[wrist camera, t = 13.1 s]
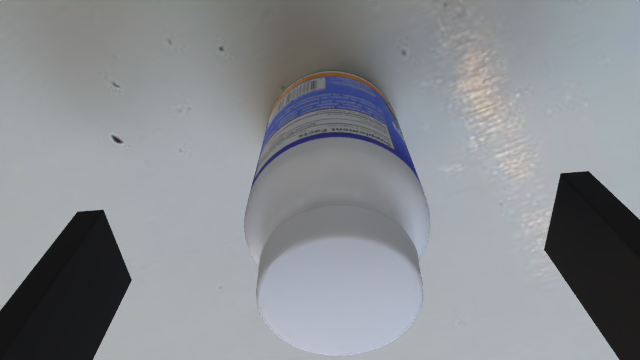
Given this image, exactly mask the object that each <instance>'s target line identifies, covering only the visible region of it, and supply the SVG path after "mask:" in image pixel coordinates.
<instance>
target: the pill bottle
mask: <svg viewBox="0 0 640 360" xmlns="http://www.w3.org/2000/svg"><path fill="white" fill-rule="evenodd" d="M244 229H245V237H246V242H247V245H248V248H249V251H250V253H251V255H252V257H253V259H254V261H255V263H256V264H257V266H258V267H259V272H258V280H257V289H256V297H257V305H258V309H259V311H260V314H261V316H262V319H263V320H264V322H265V323H266V325H267V326H268V327H269V328H270V329H271V330H272V331H273V333H275V334H276V335H277V336H278V337H279V338H281V339H282V340H283V341H285V342H287V343H289V344H290V345H292V346H294V347H296V348H299V349H302V350H305V351H308V352H311V353H316V354H322V355H336V356H341V355H353V354H359V353H364V352H368V351H372V350H375V349H377V348H380V347H382V346H384V345H386V344H388V343H390V342H392V341H393V340H395V339H396V338H398V337H399V336H400V335H402V334H403V333H404V332H405V331H406V330H407V329H408V328H409V327H410V326H411V324H413V322H414V320H415V319H416V317H417V316H418V314H419V311H420V309H421V306H422V302H423V283H422V278H421V273H420V267H419V260H420V258H421V256H422V254H423V253H424V250H425V247H426V245H427V241H428V237H429V230H430V214H429V208H428V204H427V201H426V197H425V195H424V191H423V188H422V186H421V183H420V181H419V178H418V176H417V173H416V170H415V168H414V165H413V162H412V160H411V157H410V154H409V152H408V149H407V146H406V143H405V141H404V138H403V135H402V132H401V129H400V127H399V124H398V121H397V118H396V116H395V113H394V111H393V109H392V107H391V105H390V103H389V101H388V100H387V99H386V97H385V96H384V95H383V93H382V92H381V91H380V90H379V89H378V88H377V87H375V86H374V85H373V84H371V83H370V82H368V81H367V80H365V79H363V78H361V77H358V76H356V75H353V74H350V73H346V72H340V71H324V72H317V73H314V74H310V75H308V76H305V77H303V78H301V79H299V80H298V81H296V82H294V83H293V84H292V85H290V86H289V87H288V88H287V89H286V90H285V91H284V92H283V93H282V94H281V96H280V97H279V98H278V100H277V101H276V103H275V105H274V107H273V109H272V111H271V114H270V117H269V120H268V124H267V128H266V133H265V137H264V141H263V145H262V149H261V153H260V157H259V160H258V164H257V168H256V172H255V176H254V180H253V183H252V187H251V191H250V195H249V198H248V202H247V207H246V212H245V219H244Z"/></svg>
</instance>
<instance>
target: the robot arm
mask: <svg viewBox="0 0 640 360" xmlns="http://www.w3.org/2000/svg"><path fill="white" fill-rule="evenodd" d="M544 250H545V251H546V253H547V254H548V256H549V257H550V259H551V260H552V262H553V263H554V264H555V266H556V267H557V269H558V270H559V272H560V273H561V275H562V276H563V278H564V279H565V281H566V282H567V284H568V285H569V286H570V288H571V289H572V291H573V292H574V294H575V295H576V297H577V298H578V300H579V301H580V303H581V304H582V305H583V307H584V308H585V310H586V311H587V313H588V314H589V316H590V317H591V319H592V320H593V322H594V323H595V324H596V326H597V327H598V329H599V330H600V332H601V333H602V335H603V336H604V338H605V339H606V341H607V342H608V344H609V345H610V346H611V348H612V349H613V351H614V352H615V354H616V355H617V357H618V358H619V360H640V220H639V219H638V218H637V217H636V216H635V215H634V214H633V213H632V212H631V211H630V210H629V209H628V208H627V207H626V206H625V205H624V204H623V203H621V202H620V201H619V200H618V199H617V198H616V197H615V196H614V195H613V194H612V193H611V192H610V191H609V190H608V189H607V188H606V187H605V186H604V185H602V184H601V183H600V182H599V181H598V180H597V179H596V178H595V177H594V176H593V175H592V174H591V173H590V172H589V171H586V172H573V173H561V175H560V180H559V184H558V189H557V193H556V198H555V203H554V207H553V212H552V216H551V221H550V226H549V230H548V235H547V239H546V244H545V248H544ZM130 282H131V277H130V275H129V272H128V270H127V267H126V265H125V263H124V260H123V258H122V255H121V253H120V250H119V248H118V245H117V243H116V240H115V238H114V235H113V233H112V230H111V228H110V225H109V223H108V220H107V218H106V215H105V213H104V210H95V211H83V212H77V213H76V214H75V216H74V217H73V218H72V220H71V221H70V222H69V223H68V225H67V226H66V227H65V229H64V230H63V231H62V232H61V234H60V235H59V236H58V238H57V239H56V240H55V241H54V243H53V244H52V245H51V247H50V248H49V249H48V250H47V252H46V253H45V254H44V255H43V257H42V258H41V259H40V261H39V262H38V263H37V264H36V266H35V267H34V268H33V270H32V271H31V272H30V273H29V275H28V276H27V277H26V279H25V280H24V281H23V282H22V284H21V285H20V286H19V288H18V289H17V290H16V291H15V293H14V294H13V295H12V297H11V298H10V299H9V300H8V302H7V303H6V304H5V306H4V307H3V308H2V309H1V311H0V360H93V358H94V356H95V354H96V352H97V350H98V348H99V346H100V344H101V342H102V340H103V338H104V336H105V334H106V331H107V329H108V327H109V325H110V323H111V321H112V319H113V317H114V315H115V313H116V311H117V309H118V307H119V305H120V303H121V301H122V299H123V297H124V295H125V293H126V291H127V289H128V287H129V284H130Z"/></svg>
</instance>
